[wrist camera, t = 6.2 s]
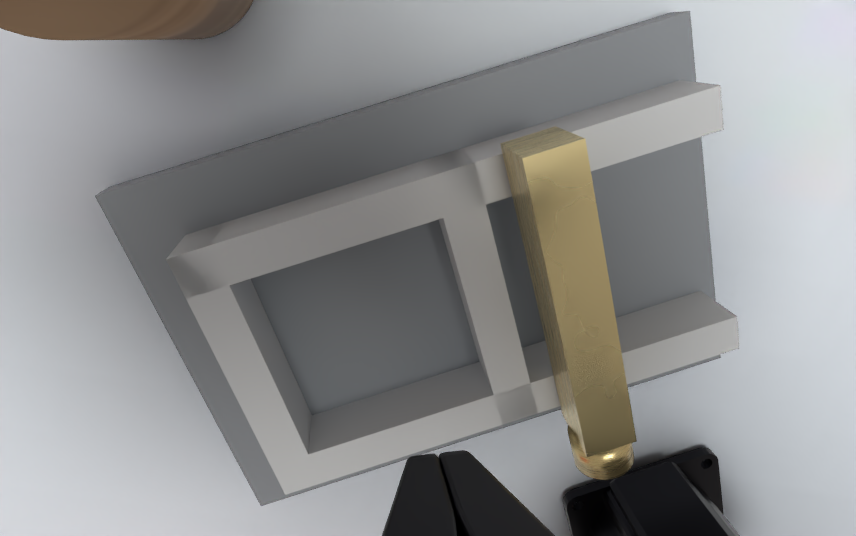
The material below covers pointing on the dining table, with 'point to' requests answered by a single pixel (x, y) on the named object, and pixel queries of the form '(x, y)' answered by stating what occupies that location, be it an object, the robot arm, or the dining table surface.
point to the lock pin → (573, 295)
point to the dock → (425, 257)
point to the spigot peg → (121, 18)
